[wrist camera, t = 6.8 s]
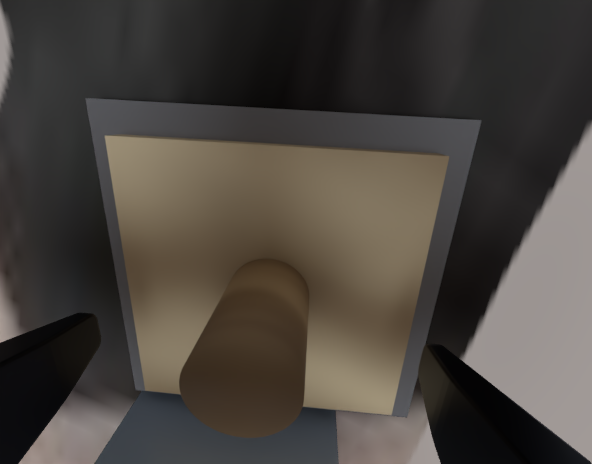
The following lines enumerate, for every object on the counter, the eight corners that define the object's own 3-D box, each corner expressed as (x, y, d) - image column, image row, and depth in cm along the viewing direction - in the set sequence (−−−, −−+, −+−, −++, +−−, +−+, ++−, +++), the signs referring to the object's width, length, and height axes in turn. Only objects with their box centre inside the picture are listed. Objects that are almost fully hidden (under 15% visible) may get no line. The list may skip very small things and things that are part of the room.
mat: (403, 405, 14) (406, 417, 13) (143, 379, 14) (135, 389, 14) (471, 120, 9) (481, 120, 9) (98, 99, 10) (85, 98, 9)
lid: (387, 398, 13) (425, 549, 8) (155, 375, 13) (70, 507, 9) (438, 153, 9) (553, 184, 5) (120, 134, 10) (-50, 145, 5)
